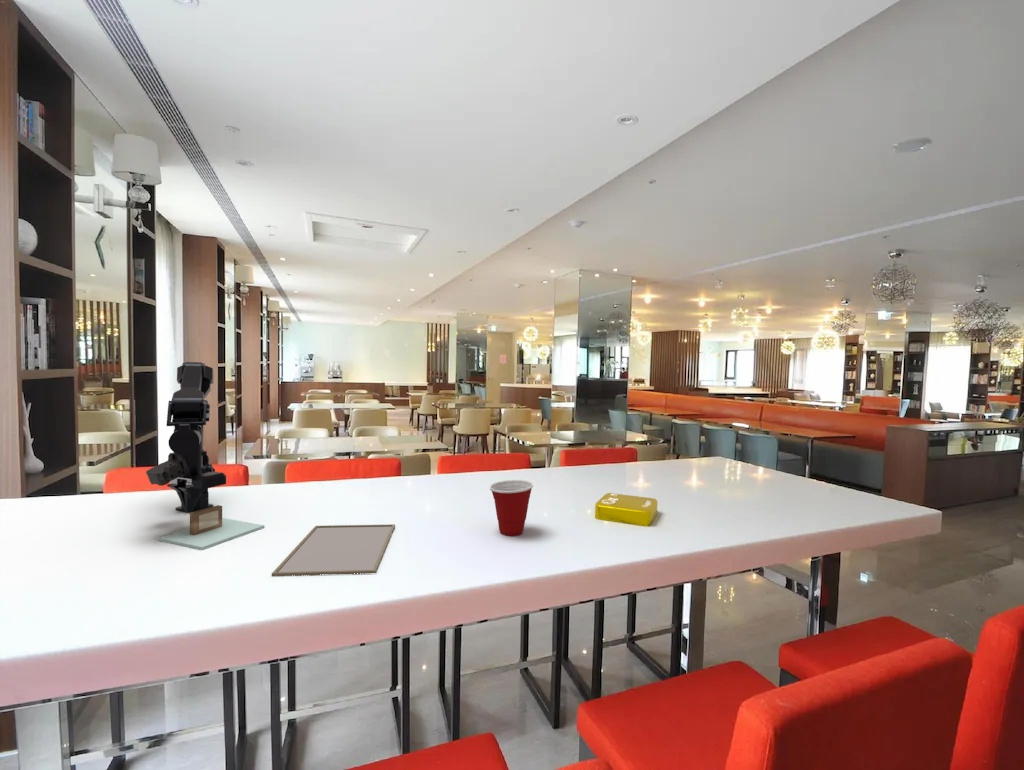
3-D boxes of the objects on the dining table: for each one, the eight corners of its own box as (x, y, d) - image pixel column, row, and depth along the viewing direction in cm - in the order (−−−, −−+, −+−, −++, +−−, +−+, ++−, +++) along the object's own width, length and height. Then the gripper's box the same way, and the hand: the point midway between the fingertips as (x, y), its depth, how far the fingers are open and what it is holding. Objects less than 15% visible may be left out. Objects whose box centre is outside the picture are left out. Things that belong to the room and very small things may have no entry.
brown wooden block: (189, 534, 112) (189, 512, 111) (217, 525, 118) (217, 505, 118) (194, 535, 111) (194, 513, 111) (222, 526, 117) (222, 505, 117)
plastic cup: (484, 526, 123) (485, 479, 123) (525, 523, 126) (526, 477, 126) (493, 541, 113) (494, 490, 112) (538, 538, 116) (539, 488, 115)
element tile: (649, 529, 125) (650, 510, 125) (593, 520, 132) (593, 502, 131) (658, 513, 139) (658, 497, 139) (606, 506, 145) (606, 490, 145)
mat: (158, 540, 109) (158, 537, 109) (223, 520, 124) (223, 517, 124) (202, 550, 104) (202, 547, 104) (264, 527, 119) (264, 525, 119)
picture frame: (315, 529, 120) (271, 578, 92) (315, 525, 120) (271, 573, 92) (395, 528, 122) (375, 576, 94) (395, 524, 122) (375, 570, 94)
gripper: (126, 449, 112) (126, 516, 113) (181, 456, 106) (181, 527, 106) (174, 443, 123) (174, 504, 123) (228, 449, 116) (228, 513, 116)
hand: (188, 512), depth 117 cm, fingers closed
